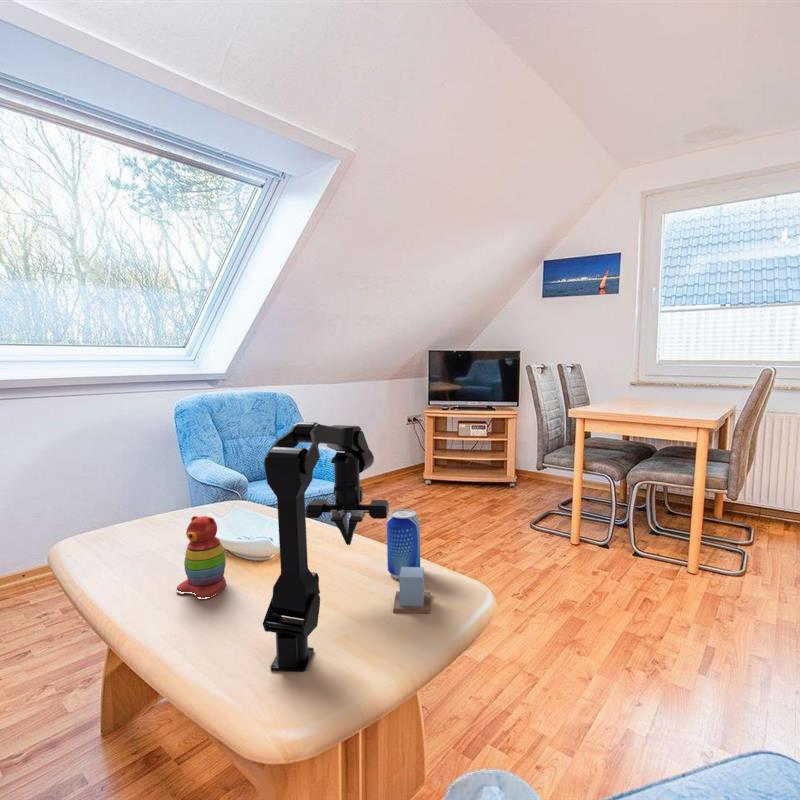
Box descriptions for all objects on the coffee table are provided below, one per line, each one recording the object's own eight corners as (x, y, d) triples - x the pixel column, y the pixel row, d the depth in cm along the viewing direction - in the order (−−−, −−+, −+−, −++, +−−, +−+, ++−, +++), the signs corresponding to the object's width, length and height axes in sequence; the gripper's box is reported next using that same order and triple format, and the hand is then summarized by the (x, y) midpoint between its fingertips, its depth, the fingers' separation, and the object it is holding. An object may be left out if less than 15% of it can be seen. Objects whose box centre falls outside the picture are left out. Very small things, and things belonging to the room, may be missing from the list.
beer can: (423, 568, 130) (422, 509, 129) (416, 583, 122) (415, 519, 121) (392, 565, 133) (391, 507, 131) (383, 579, 125) (382, 517, 123)
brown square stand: (429, 613, 108) (429, 587, 107) (393, 612, 109) (392, 586, 108) (430, 595, 116) (430, 571, 115) (396, 594, 117) (395, 570, 116)
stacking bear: (172, 593, 119) (167, 521, 117) (205, 575, 128) (201, 508, 127) (205, 602, 115) (201, 527, 113) (237, 583, 124) (233, 513, 122)
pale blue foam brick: (423, 606, 109) (422, 577, 109) (399, 605, 110) (399, 577, 109) (424, 594, 115) (423, 567, 114) (401, 594, 115) (401, 566, 114)
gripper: (390, 470, 122) (391, 532, 124) (316, 470, 124) (318, 531, 125) (385, 482, 111) (386, 550, 112) (303, 482, 113) (306, 548, 114)
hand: (348, 544), depth 116 cm, fingers closed
